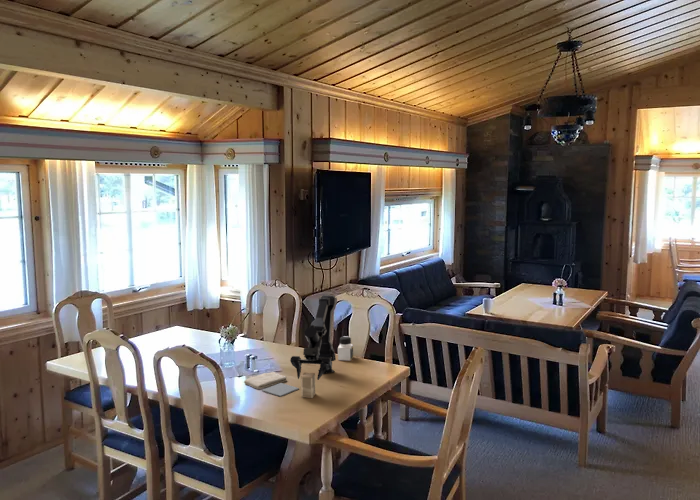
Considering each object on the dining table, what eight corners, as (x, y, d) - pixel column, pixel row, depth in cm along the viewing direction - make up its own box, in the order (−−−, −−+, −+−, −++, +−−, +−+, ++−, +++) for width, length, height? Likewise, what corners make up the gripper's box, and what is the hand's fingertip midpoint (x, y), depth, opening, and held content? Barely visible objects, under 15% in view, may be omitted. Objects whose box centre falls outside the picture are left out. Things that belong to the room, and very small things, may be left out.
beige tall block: (304, 393, 270) (304, 372, 269) (315, 393, 269) (314, 373, 268) (301, 397, 265) (301, 376, 264) (312, 397, 264) (311, 376, 263)
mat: (280, 384, 283) (280, 382, 283) (298, 389, 275) (298, 388, 275) (262, 391, 274) (262, 390, 274) (280, 396, 266) (280, 395, 266)
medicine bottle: (350, 360, 317) (350, 339, 315) (337, 360, 318) (337, 338, 317) (353, 356, 324) (352, 335, 322) (340, 356, 325) (340, 335, 324)
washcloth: (288, 381, 288) (288, 375, 287) (258, 391, 275) (257, 384, 275) (273, 375, 296) (273, 370, 296) (243, 385, 284) (243, 378, 284)
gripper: (290, 338, 271) (283, 369, 262) (330, 340, 267) (324, 371, 258) (296, 350, 280) (289, 380, 270) (334, 352, 276) (329, 383, 267)
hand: (308, 378), depth 266 cm, fingers open, 9 cm apart
